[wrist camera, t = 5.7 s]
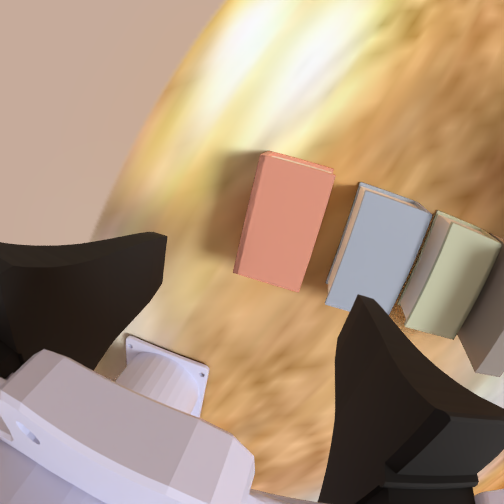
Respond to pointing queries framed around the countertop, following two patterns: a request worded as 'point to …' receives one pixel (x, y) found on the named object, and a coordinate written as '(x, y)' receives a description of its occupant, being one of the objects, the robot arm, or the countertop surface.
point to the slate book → (376, 248)
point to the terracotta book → (283, 219)
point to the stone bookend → (487, 323)
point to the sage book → (448, 276)
